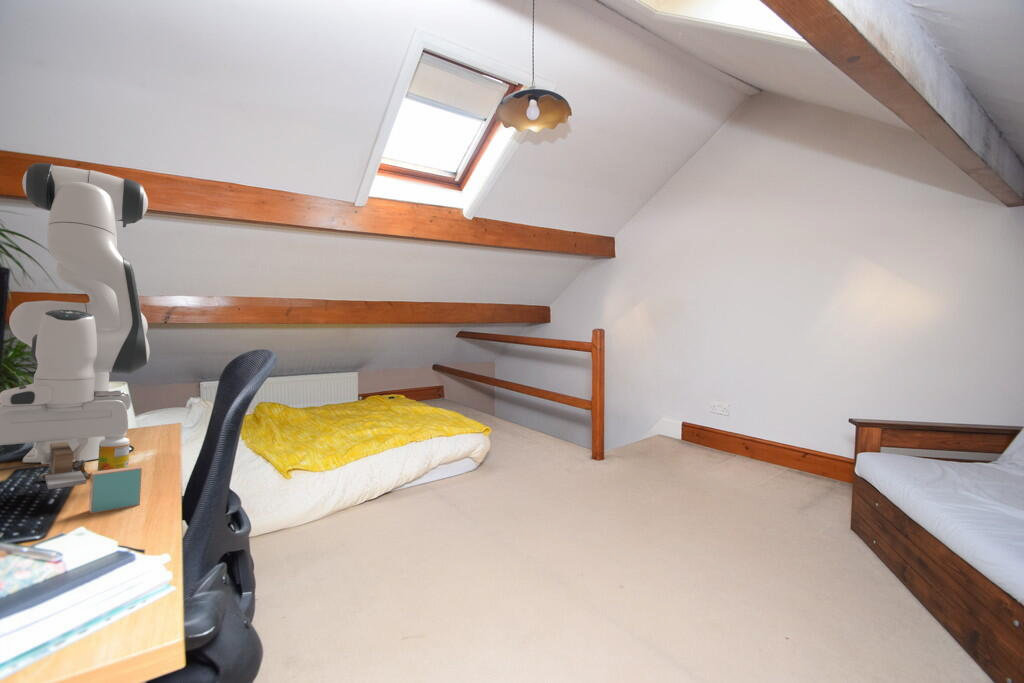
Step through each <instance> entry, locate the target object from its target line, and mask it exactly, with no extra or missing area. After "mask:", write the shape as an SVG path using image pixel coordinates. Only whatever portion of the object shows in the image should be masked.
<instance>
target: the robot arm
mask: <svg viewBox="0 0 1024 683" xmlns="http://www.w3.org/2000/svg"><path fill="white" fill-rule="evenodd" d="M22 177H23V178H22V181H21V182H22V190H23V192H24V195H25V196H26V199H27V200H28V202H30V203H31V204H32V205H34V207H37V208H40V209H43V210H46V211H49V215H48V224H47V231H46V232H47V233H46V236H47V248H48V251H49V253H50V255H51V256H52V257H53V258H54V259H55V260H56V261H57V264H56V265H57V266H56V274H57V276H58V277H59V279H60V280H61V281H62V282H63V283H65V284H67V285H68V286H71V287H72V288H74V289H77V290H79V291H81V292H83V293H85V294H86V295H87V296H88V298H89V301H88V302H85V303H84V302H74V301H73V302H72V301H71V302H70V301H61V300H60V301H58V300H36V301H35V300H34V301H25V302H22V303H20V304H19V305H17V306H16V307H15V308H14V309H13V310H12V312H11V314H10V315H9V328H10V330H11V332H12V334H13V335H14V337H15V338H17V340H19V341H20V342H22V343H24V344H26V345H27V346H29V347H30V348H31V358H30V359H31V360H32V361H33V362H34V363H35V364H36V365H37V368H36V371H35V373H34V375H33V383H30V384H29V383H28V384H25V385H22V386H17V387H13V388H9V389H5V390H2V391H1V392H0V446H6V445H7V446H8V445H19V444H30V443H32V448H31V450H29V452H28V453H26V454H25V456H24V457H23V458H22V463H41V465H49V464H50V463H52V461H53V460H52V458H53V454H52V453H50V444H52V443H64V442H67V443H68V445H69V446H70V448H71V450H72V451H73V463H76V462H75V461H78V460H79V461H80V460H86V462H87V461H94V460H98V457H99V443H100V441H101V440H103V439H105V437H104V436H113V435H123V434H124V433H125V432H126V433H127V431H128V430H129V418H128V410H129V409H130V407H131V402H132V401H131V400H132V399H131V395H129V393H126V392H123V391H122V390H113V391H112V390H111V391H110V390H109V386H110V385H109V384H110V373H113V374H124V375H125V374H126V375H131V374H134V373H135V372H137V371H139V370H141V369H142V368H144V367H145V366H146V365H147V364H148V362H149V360H150V359H149V358H150V351H151V350H150V344H149V341H148V338H147V333H148V327H149V326H148V321H147V318H146V316H145V315H144V313H143V312H142V311H141V303H140V297H139V292H138V285H137V282H136V277H135V272H134V269H133V266H132V263H131V262H130V260H128V259H126V258H124V257H123V256H122V255H121V254H120V253H119V251H118V235H117V226H116V222H122V228H126V227H127V225H129V224H134V223H138V221H140V220H142V219H143V217H144V215H145V214H146V212H147V210H148V207H149V198H148V195H147V193H146V191H145V188H144V186H143V185H142V184H141V183H140V182H137V181H134V180H132V179H129V178H127V177H126V178H123V177H122V178H121V177H120V176H115V175H112V174H108V173H104V172H101V171H97V170H92V169H90V170H87V169H83V168H78V167H77V168H76V167H69V166H62V165H54V164H53V163H50V162H49V163H47V162H35V163H33V164H31V165H29V166H28V167H27V170H26V171H25V172H24V175H23V176H22Z"/></svg>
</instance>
